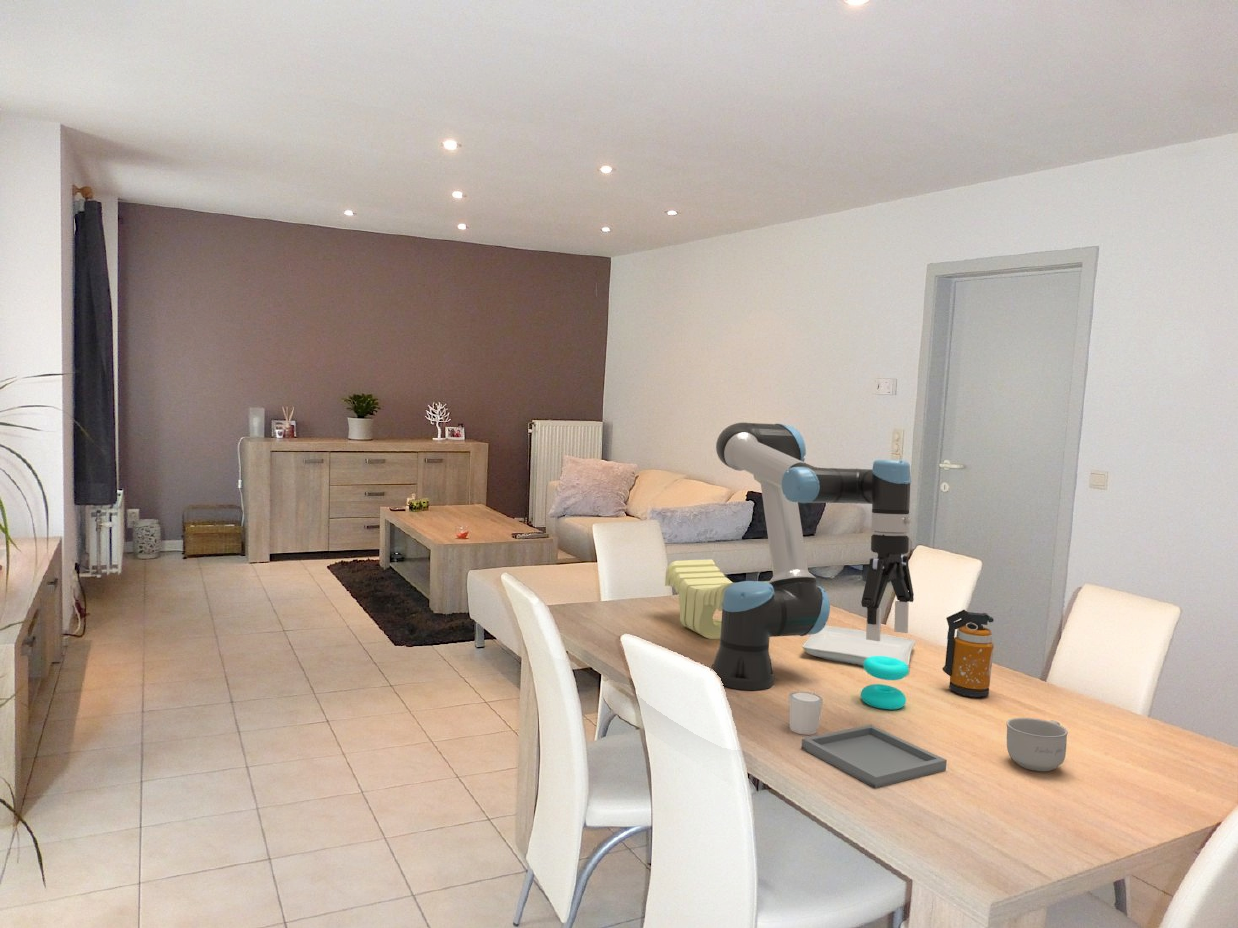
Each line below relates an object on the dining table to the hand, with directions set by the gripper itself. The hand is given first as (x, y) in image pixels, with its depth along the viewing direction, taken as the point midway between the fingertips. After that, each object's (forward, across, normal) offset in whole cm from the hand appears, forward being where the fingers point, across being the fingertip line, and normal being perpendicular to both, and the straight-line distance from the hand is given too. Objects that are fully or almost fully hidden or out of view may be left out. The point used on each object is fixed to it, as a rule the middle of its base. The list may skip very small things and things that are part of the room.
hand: (887, 636), depth 187 cm
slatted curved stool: (+13, +36, +69) cm, 78 cm away
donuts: (+19, +18, +9) cm, 27 cm away
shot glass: (+20, -12, +13) cm, 26 cm away
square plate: (+16, +51, +30) cm, 61 cm away
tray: (+21, -15, -4) cm, 26 cm away
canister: (+19, +42, -1) cm, 46 cm away
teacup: (+22, +9, -27) cm, 37 cm away
